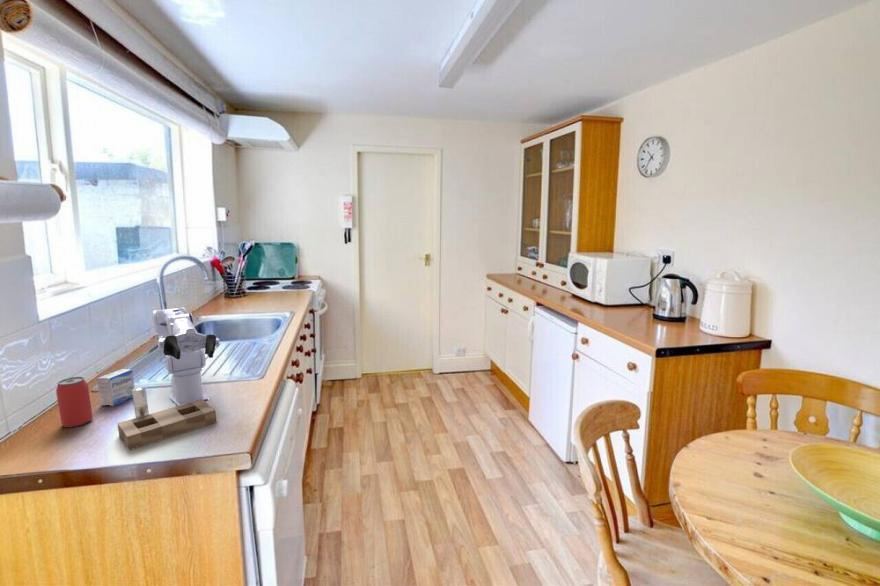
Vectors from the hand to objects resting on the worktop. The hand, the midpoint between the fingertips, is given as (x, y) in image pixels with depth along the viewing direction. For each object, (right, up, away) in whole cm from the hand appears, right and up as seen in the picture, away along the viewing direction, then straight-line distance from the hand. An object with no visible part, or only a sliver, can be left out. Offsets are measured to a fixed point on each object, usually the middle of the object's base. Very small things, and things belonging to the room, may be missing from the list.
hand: (195, 354), depth 116 cm
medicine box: (-33, -17, +19) cm, 42 cm away
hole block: (-7, -20, +1) cm, 21 cm away
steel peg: (-16, -19, +4) cm, 25 cm away
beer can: (-34, -19, +5) cm, 40 cm away
